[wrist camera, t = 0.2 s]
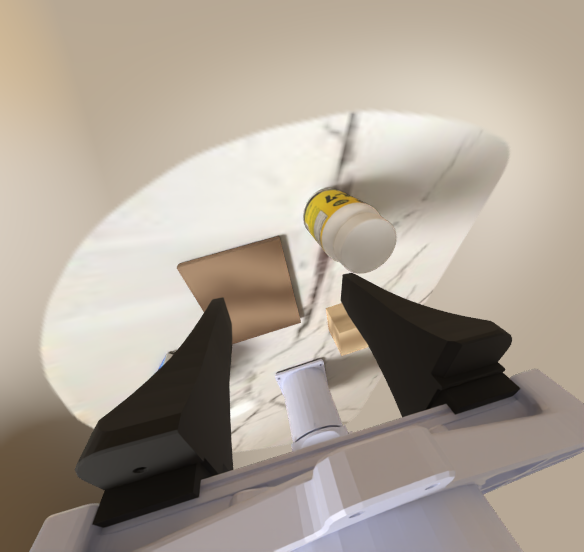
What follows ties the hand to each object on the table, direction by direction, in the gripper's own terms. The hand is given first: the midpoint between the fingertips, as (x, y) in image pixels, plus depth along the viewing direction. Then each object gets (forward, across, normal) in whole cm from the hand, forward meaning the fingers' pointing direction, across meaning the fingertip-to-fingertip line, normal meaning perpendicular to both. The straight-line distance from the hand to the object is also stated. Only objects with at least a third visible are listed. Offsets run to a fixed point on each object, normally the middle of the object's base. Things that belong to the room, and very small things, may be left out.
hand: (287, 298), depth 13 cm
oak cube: (+10, -9, +13) cm, 19 cm away
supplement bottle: (+10, -6, -2) cm, 12 cm away
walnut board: (+10, +3, +7) cm, 12 cm away
